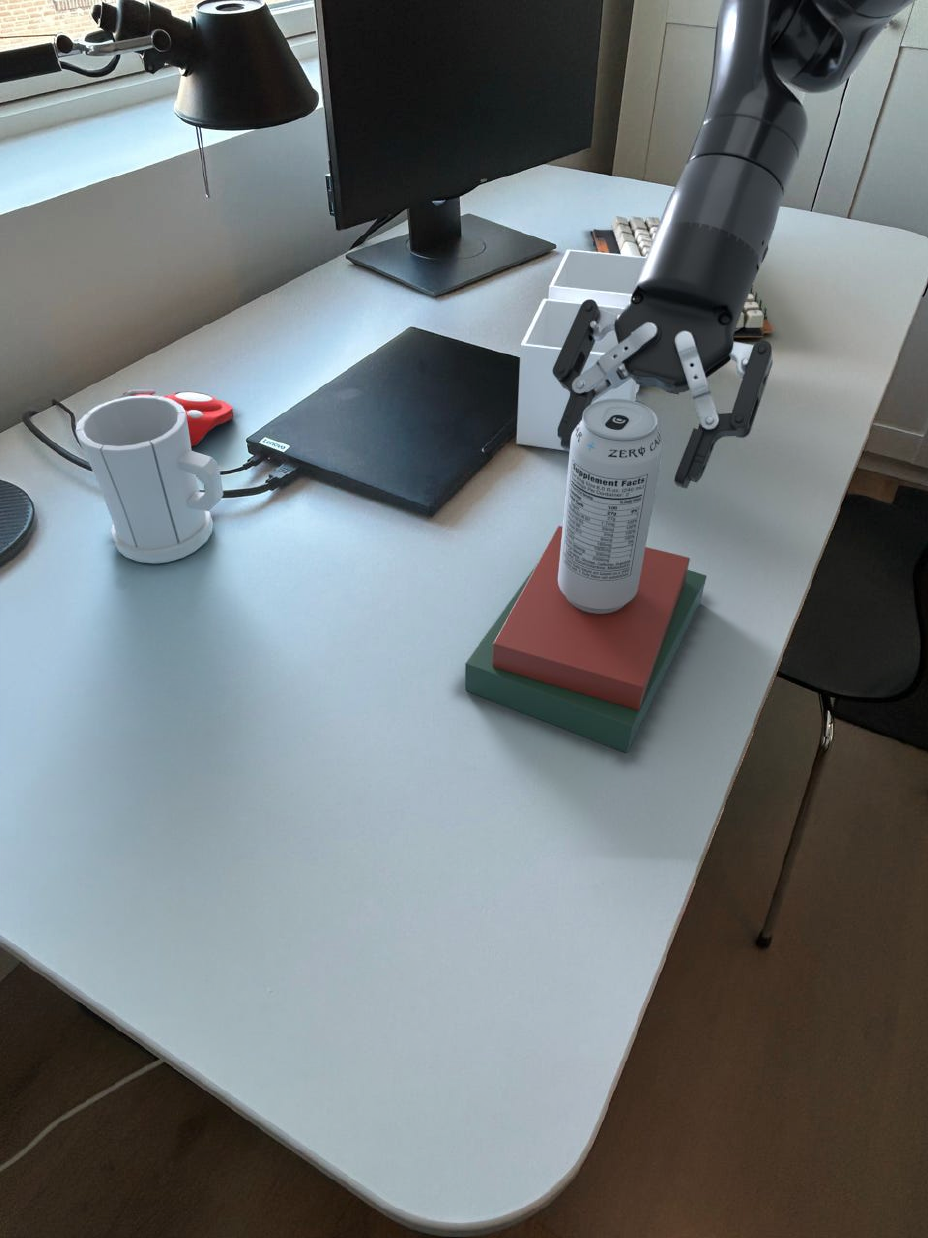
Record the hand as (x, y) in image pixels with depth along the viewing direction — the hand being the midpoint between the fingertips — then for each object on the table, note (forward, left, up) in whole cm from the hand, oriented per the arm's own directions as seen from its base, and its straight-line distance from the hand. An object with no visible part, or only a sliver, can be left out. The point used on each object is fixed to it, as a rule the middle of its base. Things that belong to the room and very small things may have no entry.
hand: (622, 467), depth 62 cm
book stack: (+2, +2, -15) cm, 15 cm away
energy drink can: (+2, +2, -10) cm, 10 cm away
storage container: (-12, -36, -16) cm, 41 cm away
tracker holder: (+33, -41, -16) cm, 55 cm away
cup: (+34, -21, -16) cm, 43 cm away
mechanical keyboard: (-34, -62, -16) cm, 73 cm away
